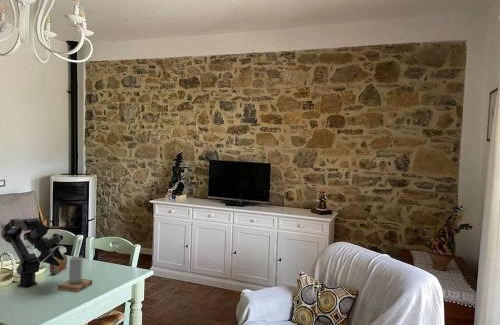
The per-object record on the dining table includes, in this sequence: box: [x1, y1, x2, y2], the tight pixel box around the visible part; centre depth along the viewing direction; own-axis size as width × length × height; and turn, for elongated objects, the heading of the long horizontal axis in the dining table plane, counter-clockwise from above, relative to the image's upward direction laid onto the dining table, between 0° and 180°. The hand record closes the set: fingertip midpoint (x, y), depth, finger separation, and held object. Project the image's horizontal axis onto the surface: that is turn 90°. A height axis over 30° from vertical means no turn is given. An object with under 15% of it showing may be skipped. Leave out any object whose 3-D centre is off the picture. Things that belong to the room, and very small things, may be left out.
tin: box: [49, 254, 68, 275], centre depth 215 cm, size 15×3×8 cm, turn 179°
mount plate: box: [57, 278, 93, 293], centre depth 195 cm, size 12×11×2 cm
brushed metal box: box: [68, 256, 84, 285], centre depth 194 cm, size 5×5×12 cm
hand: (61, 262), depth 193 cm, fingers open, 9 cm apart
